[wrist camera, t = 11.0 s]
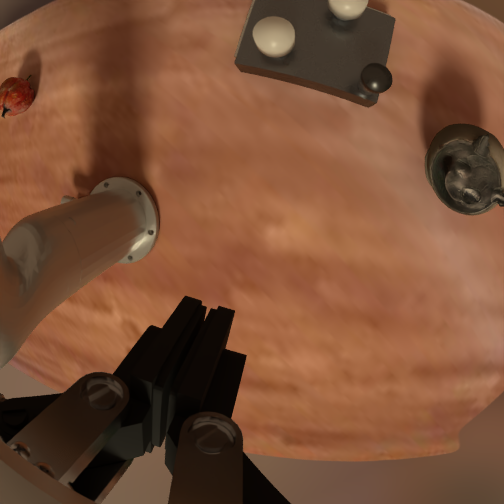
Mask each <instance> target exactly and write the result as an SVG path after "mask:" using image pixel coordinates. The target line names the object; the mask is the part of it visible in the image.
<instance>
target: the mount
mask: <svg viewBox="0 0 504 504" xmlns="http://www.w3.org/2000/svg"><path fill="white" fill-rule="evenodd" d="M327 1H328V0H253V1H252V4H251V7H250V10H249V13H248V16H247V19H246V21H245V24H244V27H243V30H242V33H241V37H240V40H239V43H238V46H237V49H236V52H235V55H234V57H235V58H236V60H235V65H236V66H237V67H238V69H239V70H240V71H241V72H245V73H250V74H254V75H259V76H264V77H268V78H273V79H277V80H281V81H285V82H289V83H293V84H296V85H300V86H304V87H307V88H311V89H314V90H318V91H321V92H324V93H327V94H330V95H334V96H337V97H340V98H343V99H346V100H348V101H351V102H354V103H357V104H360V105H362V106H365V107H368V108H369V107H371V106H373V105H374V104H376V103H377V100H378V96H379V93H373V94H371V95H366V94H364V93H362V92H361V91H360V89H359V87H358V83H359V81H360V80H361V78H360V75H361V72H362V70H363V69H364V68H365V67H366V66H367V65H368V64H370V63H379V64H382V65H384V66H385V67H386V63H387V58H388V54H389V49H390V44H391V39H392V34H393V29H394V24H395V18H394V17H391V15H389V14H386V13H384V12H381V11H378V10H376V9H373V8H370V7H368V6H366V8H365V10H364V12H363V14H362V15H361V16H360V17H359V18H357V19H353V20H348V21H343V20H340V19H338V18H337V17H336V16H335V15H334V14H333V13H332V12H331V11H330V9H329V8H328V4H327ZM271 16H276V17H281V18H284V19H286V20H287V21H289V22H290V23H291V24H292V26H293V28H294V31H295V45H294V48H293V49H292V51H291V52H290V53H288V54H287V55H285V56H282V57H269V56H266V55H264V54H263V53H261V52H260V51H259V49H258V48H257V45H256V43H255V41H254V38H253V29H254V26H255V25H256V24H257V23H258V22H259V21H260V20H262V19H264V18H266V17H271Z"/></svg>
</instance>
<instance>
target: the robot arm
mask: <svg viewBox="0 0 504 504" xmlns="http://www.w3.org/2000/svg"><path fill="white" fill-rule="evenodd" d="M140 192H141V193H140ZM152 230H153V231H154V232H153V231H152ZM158 233H159V216H158V211H157V208H156V205H155V203H154V201H153V199H152V197H151V195H150V194H149V193H148V191H147V190H146V189H145V188H144V187H143V186H142V185H141V184H139V183H138V182H136V181H135V180H132V179H130V178H127V177H113V178H109V179H106V180H104V181H102V182H100V183H99V184H98V185H97V186H96V187H95V188H94V189H93V190H92V192H91V193H90V195H89V196H85V197H82V198H79V199H76V198H74V197H71V196H68V195H65V196H63V197H62V200H61V204H60V205H57V206H54V207H51V208H48V209H45V210H42V211H40V212H37V213H34V214H32V215H29V216H27V217H25V218H23V219H22V220H20V221H19V222H18V223H17V224H16V225H15V226H14V227H13V228H12V229H11V230H10V231H9V233H8V234H7V236H6V237H5V239H4V240H3V242H1V238H0V369H1V368H3V367H4V366H5V365H6V364H7V363H8V362H9V361H10V360H11V359H12V358H13V357H14V356H15V354H16V353H17V352H18V351H19V349H20V348H21V346H22V345H23V344H24V342H25V341H26V339H27V338H28V337H29V335H30V334H31V333H32V331H33V330H34V329H35V328H36V326H37V325H38V324H39V323H40V322H41V321H42V320H43V319H44V318H45V317H46V316H47V315H48V314H49V313H50V312H51V311H53V310H54V309H55V308H56V307H57V306H59V305H60V304H61V303H62V302H64V301H65V300H66V299H68V298H69V297H70V296H72V295H73V294H74V293H75V292H77V291H78V290H79V289H81V288H82V287H83V286H85V285H86V284H88V283H89V282H90V281H92V280H93V279H94V278H96V277H97V276H99V275H100V274H101V273H103V272H104V271H106V270H107V269H108V268H110V267H111V266H113V265H114V264H115V263H117V262H118V263H126V264H128V263H133V262H136V261H138V260H140V259H142V258H143V257H145V256H146V255H147V254H148V253H149V252H150V251H151V250H152V248H153V247H154V245H155V243H156V240H157V238H158ZM206 309H207V307H206V306H203V305H202V301H201V300H198V299H195V298H192V297H188V296H185V297H184V298H183V299H182V301H181V302H180V303H179V305H178V306H177V308H176V309H175V311H174V312H173V313H172V315H171V316H170V318H169V319H168V320H167V322H166V323H165V325H164V326H163V327H162V328H159V327H156V326H153V325H151V326H149V327H148V328H147V330H146V331H145V332H144V334H143V335H142V336H141V338H140V339H139V340H138V341H137V343H136V344H135V345H134V347H133V348H132V349H131V351H130V352H129V353H128V355H127V356H126V357H125V359H124V360H123V361H122V363H121V364H120V365H119V367H118V368H117V369H116V371H115V372H114V373H113V375H112V374H110V373H105V372H93V373H90V374H86V375H85V376H83V377H81V378H80V379H79V380H78V381H77V382H75V383H74V384H73V385H72V386H71V387H70V388H68V389H67V390H66V391H65V392H64V393H59V394H52V395H42V396H32V397H21V398H12V399H5V397H4V395H3V394H1V393H0V504H101V503H102V501H103V500H104V499H105V498H106V496H107V495H108V494H109V492H110V491H111V490H112V489H113V487H114V486H115V484H116V483H117V482H118V481H119V479H120V478H121V477H122V475H123V474H124V473H125V471H126V470H127V469H128V467H129V466H130V465H131V463H132V461H133V459H134V458H135V457H139V456H143V455H144V453H145V451H146V452H149V453H151V452H152V450H153V448H154V446H158V447H161V445H162V443H163V441H164V439H165V436H166V441H165V449H166V453H165V465H166V466H167V468H168V469H169V471H170V472H171V474H172V482H171V488H170V494H169V501H168V504H291V503H290V502H289V501H288V500H287V499H286V498H285V497H284V496H283V495H282V494H281V493H280V492H279V491H278V490H277V489H276V488H275V487H274V486H273V485H272V484H271V483H270V482H269V480H268V479H267V478H266V477H265V476H264V475H263V474H262V473H261V472H260V470H258V468H257V467H256V466H255V465H254V464H253V463H252V461H251V460H250V459H249V458H248V457H247V456H246V454H245V453H244V452H243V436H242V432H241V430H240V428H239V427H238V425H237V424H236V423H235V422H234V421H233V420H232V419H231V417H232V413H233V409H234V405H235V401H236V397H237V393H238V389H239V385H240V381H241V377H242V373H243V369H244V365H245V361H246V356H247V355H244V354H241V353H237V352H234V351H230V350H227V349H225V348H226V344H227V340H228V337H229V333H230V329H231V325H232V321H233V317H234V313H235V310H231V309H228V308H225V307H221V306H218V308H217V310H216V309H212V308H211V309H210V311H209V313H208V315H207V317H206V319H205V314H206ZM204 319H205V321H204Z"/></svg>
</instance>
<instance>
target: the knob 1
mask: <svg viewBox="0 0 504 504" xmlns="http://www.w3.org/2000/svg"><path fill="white" fill-rule="evenodd" d="M253 38H254V41H255V43H256V45H257V48H258V49H259V51H260V52H261V53H263V54H264V55H266V56H269V57H282V56H285V55H287V54H288V53H290V52H291V51H292V49H293V48H294V45H295V31H294V28H293V26H292V24H291V23H290V22H289V21H287V20H286V19H284V18H281V17H276V16H271V17H266V18H264V19H262V20H260V21H259V22H258V23H257V24H256V25H255V26H254V29H253Z"/></svg>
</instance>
